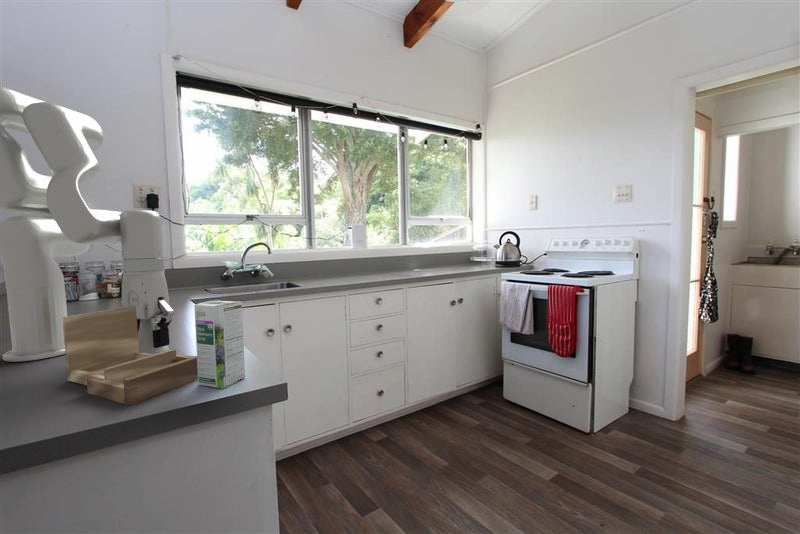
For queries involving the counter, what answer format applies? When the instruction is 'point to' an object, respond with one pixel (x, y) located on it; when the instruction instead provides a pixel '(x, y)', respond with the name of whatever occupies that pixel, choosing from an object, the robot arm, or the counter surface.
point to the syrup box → (219, 343)
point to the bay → (146, 382)
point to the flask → (148, 338)
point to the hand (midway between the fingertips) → (149, 344)
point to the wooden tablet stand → (107, 346)
